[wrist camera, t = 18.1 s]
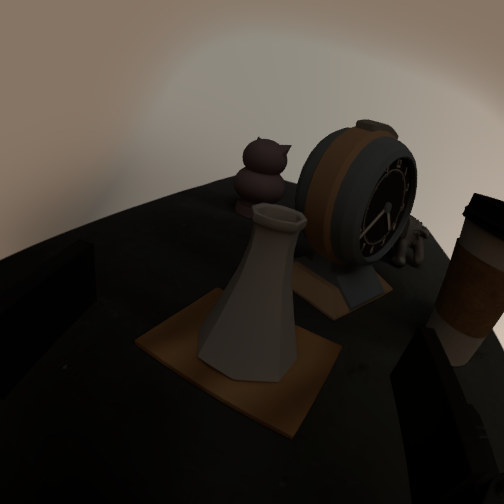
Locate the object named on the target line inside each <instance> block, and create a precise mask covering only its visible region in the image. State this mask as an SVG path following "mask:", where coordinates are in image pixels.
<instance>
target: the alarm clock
mask: <svg viewBox="0 0 504 504" xmlns="http://www.w3.org/2000/svg"><path fill="white" fill-rule="evenodd" d="M397 139H398V135H397V133H396V132H395V131H394V129H393V128H392V127H390V126H389V125H386V124H383V123H379V122H375V121H372V120H358V121H357V123H356V126H355V127H352V128H344V129H341V130H338V131H335V132H333V133H331V134H329V135H328V136H327V137H325V138H324V139H323V140H321V141H320V142H319V143H318V144H317V146H316V147H315V148H314V149H313V151H312V152H311V153H310V155H309V157H308V158H307V161H306V162H305V164H304V166H303V168H302V171H301V174H300V177H299V180H298V183H297V189H296V195H295V210H296V211H298V212H301V213H303V215H304V216H305V218H306V219H307V225H306V226H305V228H304V229H303V230H301V231H302V233H303V234H304V235H305V237H306V238H307V239H308V241H309V243H310V245H311V246H312V247H313V249H314V250H315V253H314V254H312V255H307V256H302V257H298V258H293V270H292V291H294V292H295V293H296V294H298V295H299V296H301V297H302V298H303V299H305V300H306V301H307V302H309V303H310V304H311V305H313V306H314V307H315V308H317V309H318V310H319V311H321V312H322V313H324V314H325V315H326V316H328V317H329V318H330V319H332V320H333V321H335V320H337V319H339V318H341V317H343V316H345V315H347V314H349V313H351V312H353V311H355V310H356V309H358V308H360V307H362V306H364V305H366V304H368V303H370V302H372V301H374V300H376V299H377V298H379V297H381V296H383V295H385V294H387V293H388V292H390V291H392V290H393V288H392V287H391V286H390V285H389V284H388V283H387V282H386V281H385V280H384V279H383V278H382V277H381V276H380V275H379V274H378V273H376V272H375V270H374V268H373V266H372V265H371V264H373V263H375V262H376V261H378V260H379V259H380V258H381V257H383V256H384V255H385V254H386V253H387V252H388V251H389V250H390V248H391V247H392V246H393V245H394V244H395V242H396V241H397V239H398V238H399V236H400V234H401V233H402V231H403V229H404V227H405V225H406V223H407V221H408V218H409V216H410V213H411V210H412V207H413V203H414V200H415V195H416V188H417V168H416V161H415V159H414V157H413V155H412V153H411V152H410V151H409V149H408V148H407V147H406V146H405V145H404V144H403V143H401V142H400V141H398V140H397Z"/></svg>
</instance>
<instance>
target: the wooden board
mask: <svg viewBox="0 0 504 504" xmlns="http://www.w3.org/2000/svg"><path fill="white" fill-rule="evenodd" d="M223 292H224V291H223V290H221V289H219V288H215V289H214V290H212V291H211V292H209V293H208V294H206V295H205V296H203V297H202V298H200V299H198V300H197V301H195V302H194V303H192V304H191V305H189V306H188V307H186V308H184V309H183V310H181V311H180V312H178V313H177V314H175V315H173V316H172V317H170V318H169V319H167V320H166V321H164V322H163V323H161V324H159V325H158V326H156V327H155V328H153V329H152V330H150V331H148V332H147V333H145V334H144V335H142V336H141V337H139V338H137V339H136V340H135V344H136V345H137V346H138V347H140V348H141V349H142V350H144V351H145V352H147V353H148V354H149V355H151V356H152V357H154V358H155V359H156V360H158V361H159V362H161V363H162V364H164V365H165V366H166V367H168V368H169V369H171V370H172V371H174V372H175V373H177V374H178V375H180V376H181V377H183V378H184V379H186V380H187V381H189V382H190V383H192V384H194V385H195V386H197V387H198V388H200V389H201V390H203V391H205V392H206V393H208V394H209V395H211V396H213V397H214V398H216V399H218V400H219V401H221V402H223V403H224V404H226V405H228V406H230V407H231V408H233V409H235V410H236V411H238V412H240V413H242V414H244V415H245V416H247V417H249V418H251V419H253V420H254V421H256V422H258V423H260V424H262V425H264V426H266V427H268V428H270V429H271V430H273V431H275V432H277V433H279V434H281V435H283V436H285V437H287V438H289V439H293V437H294V435H295V434H296V432H297V430H298V429H299V427H300V425H301V424H302V422H303V420H304V418H305V417H306V415H307V413H308V411H309V410H310V408H311V406H312V404H313V403H314V401H315V399H316V397H317V395H318V393H319V392H320V390H321V388H322V386H323V384H324V382H325V380H326V378H327V376H328V375H329V373H330V371H331V369H332V367H333V365H334V363H335V361H336V359H337V357H338V355H339V353H340V351H341V349H342V346H341V345H338V344H336V343H334V342H332V341H329V340H327V339H325V338H323V337H320V336H318V335H316V334H314V333H312V332H309V331H307V330H305V329H303V328H301V327H299V326H296V325H295V334H296V345H297V360H296V361H295V362H294V363H293V365H292V366H291V367H290V368H289V370H288V371H287V372H286V373H285V375H284V376H283V377H282V378H281V380H280V381H279V382H266V381H247V380H233V379H232V378H230V377H229V376H227V375H225V374H224V373H222V372H220V371H219V370H217V369H216V368H214V367H212V366H211V365H209V364H208V363H206V362H205V361H203V360H202V359H200V358H198V357H197V354H198V339H199V328H200V327H201V325H202V324H203V322H204V320H205V319H206V317H207V316H208V314H209V313H210V311H211V310H212V308H213V307H214V305H215V304H216V302H217V301H218V299H219V298H220V297H221V295H222V293H223Z"/></svg>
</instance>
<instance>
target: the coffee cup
mask: <svg viewBox="0 0 504 504" xmlns="http://www.w3.org/2000/svg"><path fill="white" fill-rule="evenodd" d="M462 214H463V216H464V217H465V221H464V224H463V228H462V231H461V234H460V238H457V241H456V244H455V247H454V251H453V254H452V257H451V260H450V263H449V266H448V269H447V272H446V275H445V278H444V281H443V284H442V287H441V289H440V292H439V295H438V297H437V300H436V303H435V306H434V308H433V311H432V313H431V315H430V318H429V320H428V322H427V324H426V327H429V328H434V329H435V331H436V333H437V336H438V338H439V340H440V342H441V344H442V346H443V348H444V350H445V352H446V355H447V357H448V359H449V361H450V363H451V366H456V367H459V366H463V365H465V364H466V363H467V362H468V361H469V359H470V358H471V357H472V356H473V354H474V353H475V352H476V350H477V349H478V347H479V346H480V345H481V343H482V342H483V341H484V339H485V338H486V336H487V335H488V334H489V333H490V331H491V330H492V329H493V327H494V326H495V324H496V323H497V321H498V320H499V318H500V317H501V315H502V314H503V313H504V202H503V201H501V200H498V199H495V198H491V197H488V196H484V195H481V194H477V193H474V194H473V197H472V199H471V201H470V203H469V205H468V206H466V207H465V210H464V212H463V213H462Z"/></svg>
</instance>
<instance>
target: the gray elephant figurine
mask: <svg viewBox="0 0 504 504" xmlns="http://www.w3.org/2000/svg"><path fill="white" fill-rule="evenodd" d="M421 227H422V222H419V220H416V218H414V217H413V216H411V215H410V216H409V218H408V221H407V223H406V225H405V227H404V229H403V231H402V233H401V234H400V236H399V238H398V239H397V241H396V242H395V244H394V245H393V246H394V256H393V258H392V263H393V264H394V265H395V266H398V267H402V266H404V265H405V253H406V250H407V246H409V248H412V249H413V253H414V264H415V265H416V266H419V265H420V264H421V263H422V261H423V254H424V251H423V239H422V238H424V239H426V238H428V237H429V232H428V230H427V229H421ZM420 232H421V233H420Z"/></svg>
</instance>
